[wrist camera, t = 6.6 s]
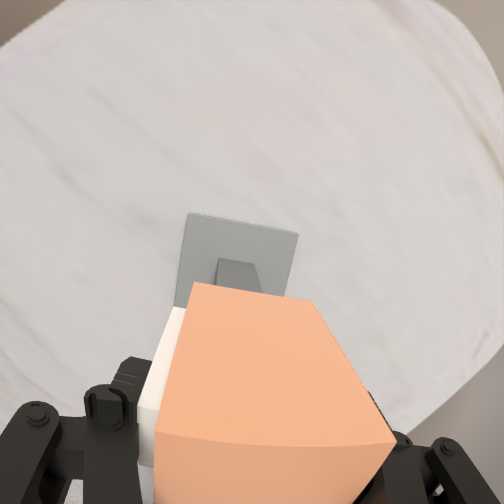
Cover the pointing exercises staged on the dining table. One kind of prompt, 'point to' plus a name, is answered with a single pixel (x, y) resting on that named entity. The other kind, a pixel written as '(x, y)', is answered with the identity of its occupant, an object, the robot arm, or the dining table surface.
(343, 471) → the orange block
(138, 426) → the robot arm
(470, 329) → the dining table surface
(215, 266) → the stand
